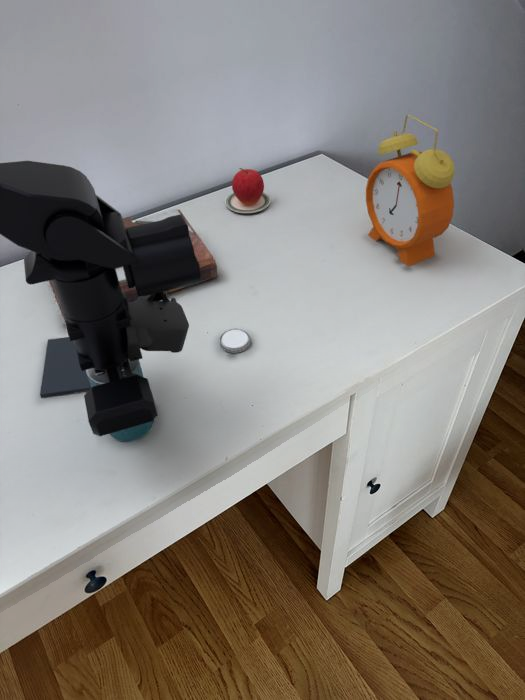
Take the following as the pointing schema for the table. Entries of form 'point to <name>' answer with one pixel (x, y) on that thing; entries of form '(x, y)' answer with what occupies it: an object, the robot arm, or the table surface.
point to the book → (200, 250)
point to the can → (131, 432)
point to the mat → (62, 369)
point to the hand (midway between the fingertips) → (125, 406)
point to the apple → (247, 193)
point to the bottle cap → (235, 340)
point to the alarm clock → (410, 197)
